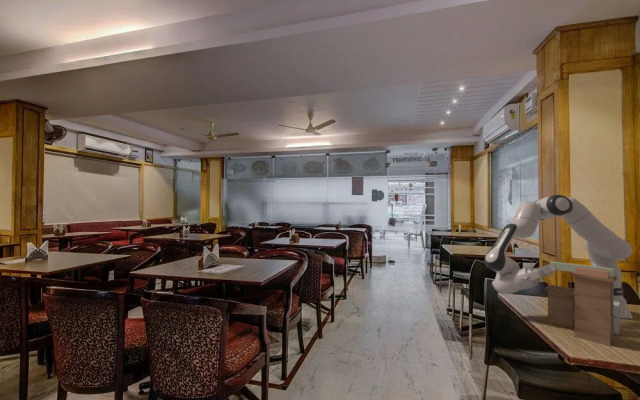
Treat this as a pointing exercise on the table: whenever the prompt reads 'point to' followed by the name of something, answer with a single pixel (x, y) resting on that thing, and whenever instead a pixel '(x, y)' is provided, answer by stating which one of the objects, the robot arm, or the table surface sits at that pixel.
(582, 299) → the brown wooden tall block
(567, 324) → the low shelf
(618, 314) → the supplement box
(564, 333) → the table surface
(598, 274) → the terracotta rod
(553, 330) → the table surface
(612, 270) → the sage rod
